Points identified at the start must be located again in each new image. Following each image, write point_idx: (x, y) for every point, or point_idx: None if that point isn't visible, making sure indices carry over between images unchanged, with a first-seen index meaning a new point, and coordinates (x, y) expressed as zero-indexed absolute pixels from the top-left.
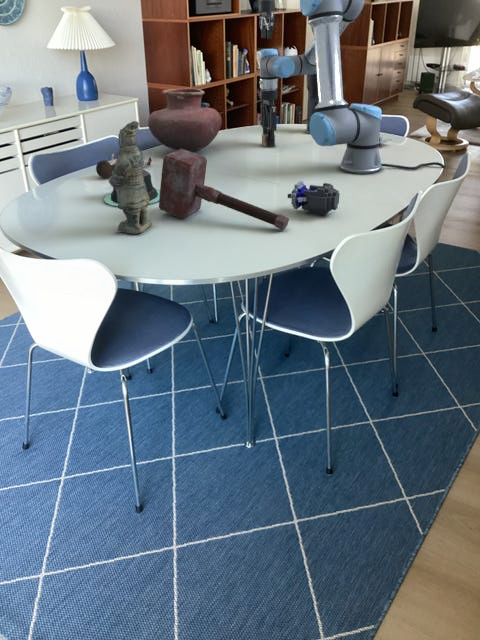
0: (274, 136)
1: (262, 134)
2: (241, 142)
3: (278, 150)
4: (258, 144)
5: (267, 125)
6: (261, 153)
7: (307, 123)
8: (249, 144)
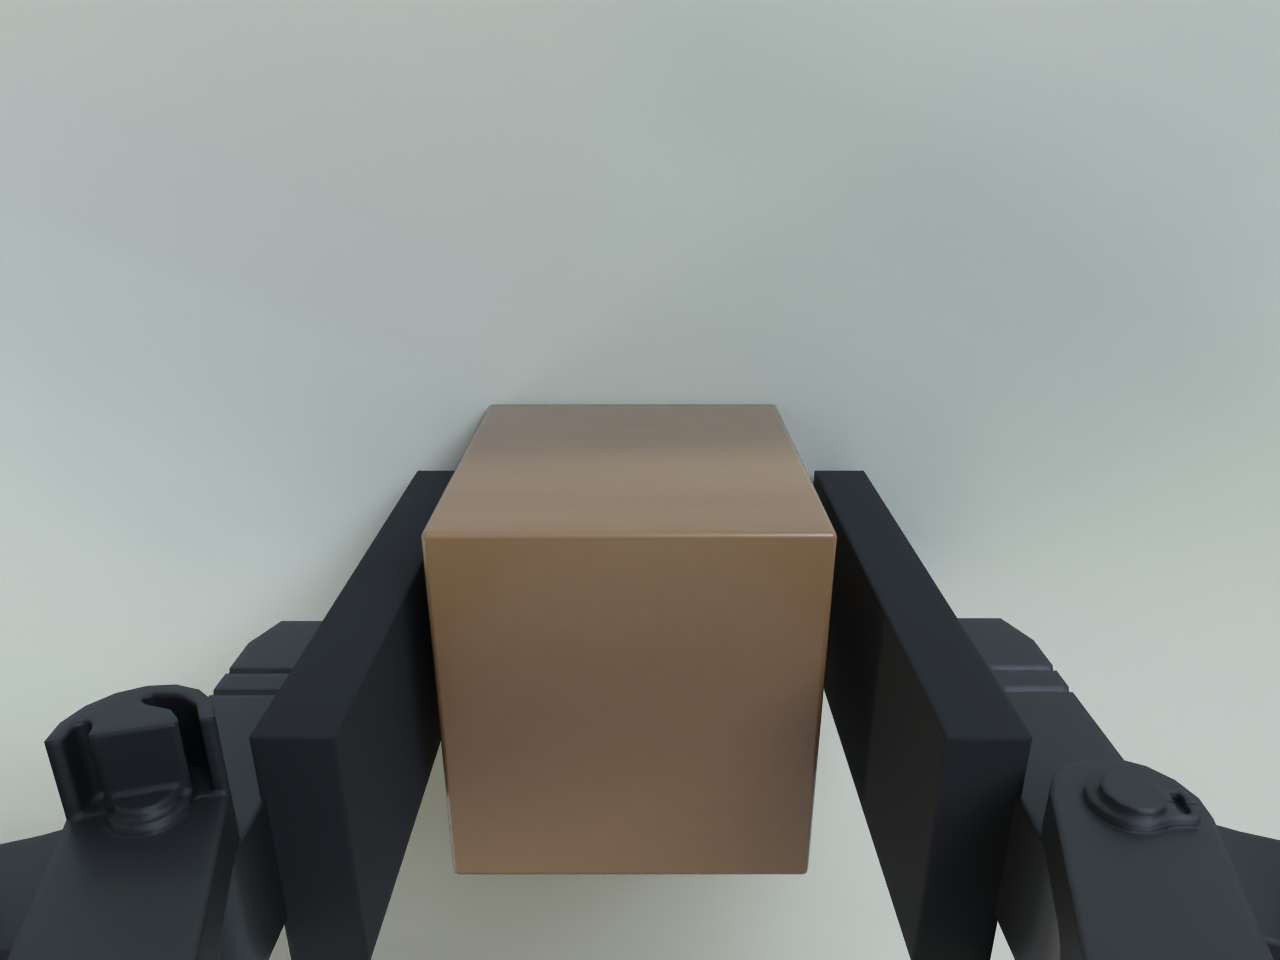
0: (832, 543)
1: (473, 860)
2: None
3: (1248, 488)
4: None
5: (229, 915)
6: None
7: None
8: None
